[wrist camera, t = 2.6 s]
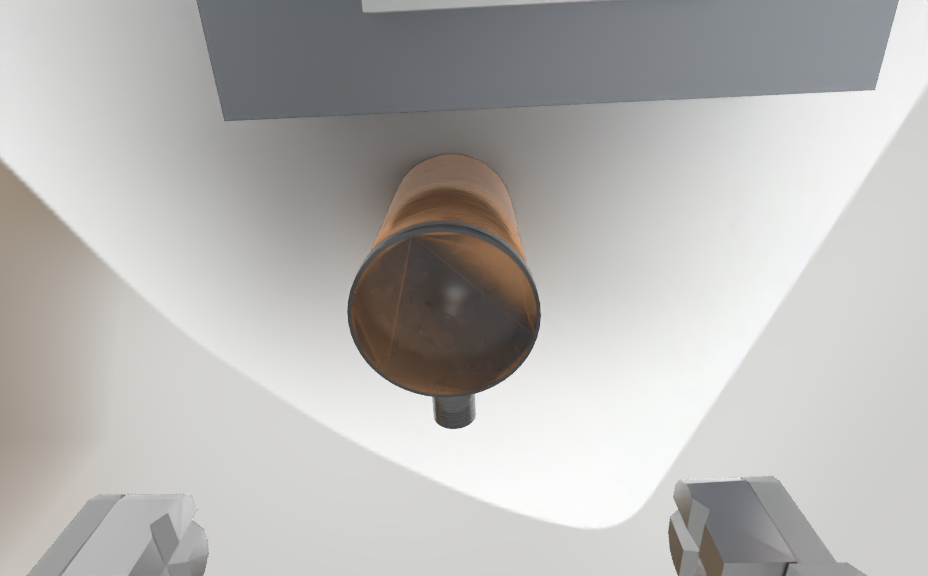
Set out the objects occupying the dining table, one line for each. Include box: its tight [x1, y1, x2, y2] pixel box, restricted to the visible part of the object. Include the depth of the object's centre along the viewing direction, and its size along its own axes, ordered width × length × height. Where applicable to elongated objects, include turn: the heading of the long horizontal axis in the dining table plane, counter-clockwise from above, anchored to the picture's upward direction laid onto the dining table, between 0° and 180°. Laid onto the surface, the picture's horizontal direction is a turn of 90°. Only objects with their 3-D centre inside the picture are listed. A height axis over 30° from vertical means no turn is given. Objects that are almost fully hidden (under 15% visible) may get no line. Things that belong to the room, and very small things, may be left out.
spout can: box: [348, 154, 541, 429], centre depth 19 cm, size 7×5×9 cm
